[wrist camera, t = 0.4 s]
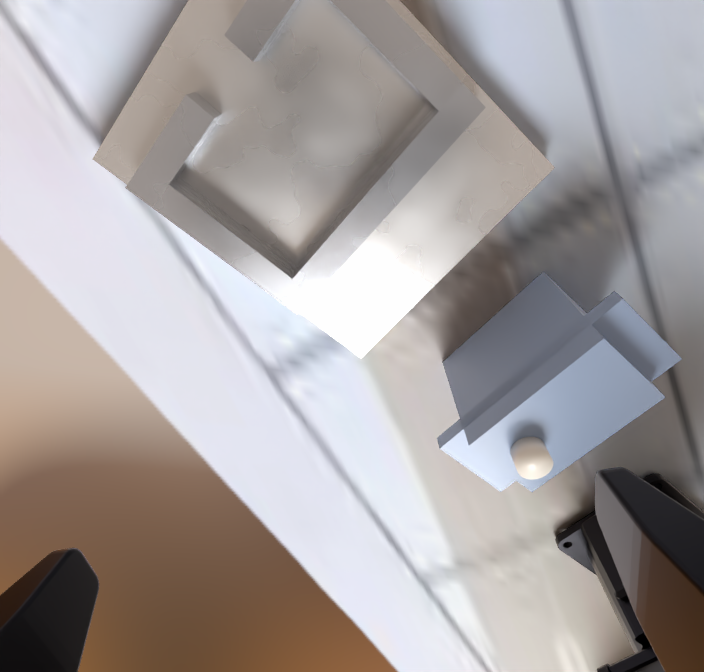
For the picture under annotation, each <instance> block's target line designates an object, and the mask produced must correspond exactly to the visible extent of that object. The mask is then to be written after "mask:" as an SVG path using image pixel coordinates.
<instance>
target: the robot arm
mask: <svg viewBox="0 0 704 672" xmlns="http://www.w3.org/2000/svg"><path fill="white" fill-rule="evenodd" d="M555 540H556V543H557V546H558V548H559V549H560V550H561V551H563V552H564V553H566V554H567V555H568V556H570V557H571V558H573V559H574V560H576V561H577V562H578V563H580V564H581V565H583V566H584V567H586V568H587V569H588V570H590V571H591V572H593V573H594V574H596V575H597V576H598V578H599V581H600V583H601V585H602V587H603V589H604V591H605V593H606V595H607V597H608V599H609V601H610V603H611V605H612V607H613V609H614V612H615V614H616V616H617V618H618V620H619V622H620V624H621V626H622V628H623V630H624V632H625V634H626V636H627V638H628V641H629V643H630V645H631V647H632V649H633V651H634V653H635V654H632V655H630V656H628V657H626V658H624V659H622V660H620V661H618V662H616V663H614V664H611V665H609V664H606V665H604V666H602V667H600V668H598V669H597V672H704V512H703V511H702V510H701V509H700V508H699V507H698V506H696V505H695V504H694V503H693V502H692V501H691V500H690V499H688V498H687V497H686V496H685V495H684V494H683V493H681V492H680V491H679V490H678V489H677V488H676V487H674V486H673V485H672V484H671V483H670V482H669V481H667V480H666V479H665V478H664V477H663V476H662V475H660V474H651V475H649V476H647V477H645V478H644V479H641V478H640V477H638V476H637V475H635V474H634V473H632V472H631V471H629V470H627V469H625V468H622V467H618V468H611V469H604V470H600V471H598V472H597V473H596V476H595V511H594V512H592V513H591V514H589V515H588V516H586V517H585V518H583V519H582V520H580V521H579V522H577V523H576V524H574V525H573V526H571V527H570V528H568V529H567V530H565V531H564V532H562V533H561V534H559V535H558V536H557V537H556V539H555ZM98 590H99V580H98V577H97V575H96V573H95V572H94V570H93V568H92V567H91V565H90V564H89V563H88V561H87V559H86V558H85V556H84V555H83V553H82V552H81V551H80V550H79V549H77V548H69V549H61V550H56V551H53V552H51V553H50V554H49V555H47V556H46V557H45V558H44V559H43V560H41V561H40V562H39V563H38V564H37V565H36V566H34V568H32V569H31V570H30V571H28V572H27V573H26V574H25V575H24V576H23V577H21V578H20V579H19V580H18V581H17V582H15V583H14V584H13V585H12V586H11V587H10V588H8V589H7V590H6V591H5V592H4V593H2V594H1V595H0V672H78V669H79V666H80V662H81V658H82V654H83V650H84V646H85V642H86V638H87V635H88V630H89V627H90V623H91V619H92V615H93V611H94V607H95V603H96V599H97V595H98Z"/></svg>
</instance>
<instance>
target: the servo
mask: <svg viewBox="0 0 704 672" xmlns="http://www.w3.org/2000/svg"><path fill="white" fill-rule="evenodd" d="M680 360H682V358H681V357H680V356H679V355H678V354H677V353H676V352H675V351H674V350H673V349H672V348H671V347H670V346H669V345H668V344H667V343H666V342H665V341H664V340H663V339H662V338H661V337H660V336H659V335H658V334H657V333H656V332H655V331H654V330H653V329H652V328H651V327H650V326H649V325H648V324H647V323H646V322H645V321H644V320H643V319H642V318H641V317H640V316H639V315H638V314H637V312H636V311H635V310H634V309H633V308H632V307H631V306H630V305H629V304H628V303H627V302H626V301H625V300H624V299H623V298H622V297H620V296H619V295H618V294H617V293H616V292H615V291H614V292H612V293H611V294H610V295H609V296H608V297H606V298H605V299H604V300H603V301H602V302H600V303H599V304H598V305H597V306H596V307H594V308H593V309H592V310H591V311H590V312H588V313H586V312H585V311H584V310H583V309H582V308H581V307H580V306H579V305H578V304H577V303H576V302H575V301H574V300H573V299H572V298H570V297H569V296H568V295H567V294H566V293H565V292H564V291H563V290H562V289H561V288H560V287H559V286H558V285H557V284H556V283H555V282H554V281H553V280H552V279H551V278H550V277H549V276H548V275H547V274H546V273H545V272H542V273H541V274H540V275H539V276H538V277H537V278H535V279H534V280H533V281H532V282H531V283H530V284H529V285H528V286H527V287H525V288H524V289H523V290H522V291H521V292H520V293H519V294H518V295H517V296H515V297H514V298H513V299H512V300H511V301H510V302H509V303H508V304H507V305H505V306H504V307H503V308H502V309H501V310H500V311H499V312H498V313H497V314H495V315H494V316H493V317H492V318H491V319H490V320H489V321H488V322H487V323H485V324H484V325H483V326H482V327H481V328H480V329H479V330H478V331H477V332H475V333H474V334H473V335H472V336H471V337H470V338H469V339H468V340H467V341H465V342H464V343H463V344H462V345H461V346H460V347H459V348H458V349H457V350H455V351H454V352H453V353H452V354H451V355H450V356H449V357H448V358H447V359H445V360H444V361H443V365H444V369H445V372H446V375H447V378H448V381H449V384H450V388H451V391H452V394H453V397H454V400H455V403H456V407H457V410H458V413H459V416H460V419H459V420H458V421H457V422H456V423H455V424H453V425H452V426H451V427H450V428H449V429H447V430H446V431H445V432H444V433H443V434H441V435H440V436H439V437H438V438H437V439H438V444H439V448H440V449H441V450H442V451H444V452H445V453H447V454H448V455H449V456H451V457H452V458H454V459H455V460H456V461H458V462H459V463H461V464H462V465H463V466H465V467H466V468H468V469H469V470H470V471H472V472H473V473H475V474H476V475H477V476H479V477H480V478H482V479H483V480H484V481H486V482H487V483H489V484H490V485H491V486H493V487H494V488H496V489H497V490H499V491H500V492H501V491H503V490H504V489H505V488H507V487H508V486H510V485H511V484H512V483H514V482H515V481H517V482H519V483H520V484H521V485H523V486H524V487H526V488H527V489H528V490H530V491H531V492H533V491H534V490H536V489H537V488H539V487H540V486H541V485H543V484H544V483H546V482H547V481H549V480H550V479H551V478H553V477H554V476H556V475H557V474H558V473H560V472H561V471H563V470H564V469H565V468H567V467H568V466H570V465H571V464H572V463H574V462H575V461H577V460H578V459H579V458H581V457H582V456H584V455H585V454H587V453H588V452H589V451H591V450H592V449H594V448H595V447H596V446H598V445H599V444H601V443H602V442H603V441H605V440H606V439H608V438H609V437H610V436H612V435H613V434H615V433H616V432H617V431H619V430H620V429H622V428H623V427H624V426H626V425H627V424H629V423H630V422H632V421H633V420H634V419H636V418H637V417H639V416H640V415H641V414H643V413H644V412H646V411H647V410H648V409H650V408H651V407H653V406H654V405H655V404H657V403H658V402H660V401H661V400H662V399H664V398H665V396H664V395H663V394H662V393H661V392H660V391H659V390H658V388H657V387H656V386H655V385H654V384H653V383H652V381H653V380H654V379H656V378H657V377H659V376H660V375H661V374H663V373H664V372H665V371H667V370H668V369H669V368H671V367H672V366H674V365H675V364H676V363H678V362H679V361H680Z"/></svg>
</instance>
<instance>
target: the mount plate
mask: <svg viewBox="0 0 704 672" xmlns="http://www.w3.org/2000/svg"><path fill="white" fill-rule="evenodd" d="M93 160H95V161H96V162H97V163H99V164H100V165H101V166H103V167H104V168H105V169H107V170H108V171H109V172H111V173H112V174H113V175H115V176H116V177H117V178H119V179H120V180H122V181H123V182H124V183H126V184H127V186H126V189H128V190H129V191H130V192H132V193H133V194H134V195H136V196H137V197H138V198H140V199H141V200H143V201H144V202H145V203H147V204H148V205H149V206H151V207H152V208H153V209H155V210H156V211H157V212H159V213H160V214H162V215H163V216H164V217H166V218H167V219H168V220H170V221H171V222H172V223H174V224H175V225H176V226H178V227H179V228H180V229H182V230H183V231H185V232H186V233H187V234H189V235H190V236H191V237H193V238H194V239H195V240H197V241H198V242H199V243H201V244H202V245H204V246H205V247H206V248H208V249H209V250H210V251H212V252H213V253H214V254H216V255H217V256H218V257H220V258H221V259H222V260H224V261H225V262H227V263H228V264H229V265H231V266H232V267H233V268H235V269H236V270H237V271H239V272H240V273H241V274H243V275H244V276H246V277H247V278H248V279H250V280H251V281H252V282H254V283H255V284H256V285H258V286H259V287H260V288H262V289H263V290H264V291H266V292H267V293H269V294H270V295H271V296H273V297H274V298H275V299H277V300H278V301H279V302H281V303H282V304H283V305H285V306H286V307H288V308H289V309H290V310H292V311H293V312H294V313H296V314H297V315H298V314H299V313H301V314H302V315H304V316H305V317H306V318H308V319H309V320H310V321H312V322H313V323H314V324H316V325H317V326H318V327H320V328H321V329H323V330H324V331H325V332H327V333H328V334H329V335H331V336H332V337H333V338H335V339H336V340H337V341H339V342H340V343H341V344H343V345H344V346H345V347H347V348H348V349H350V350H351V351H352V352H354V353H355V354H356V355H358V356H359V357H360V358H362V357H363V356H364V355H365V354H366V353H367V352H368V351H369V350H370V349H371V348H372V347H373V346H374V345H375V344H376V343H377V342H378V341H379V340H380V339H381V338H382V337H383V336H384V335H385V334H386V333H387V332H388V331H389V330H390V329H391V328H392V327H393V326H394V325H395V324H396V323H397V322H398V321H399V320H400V319H401V318H402V317H403V316H404V315H405V314H406V313H407V312H408V311H409V310H410V309H411V308H412V307H413V306H415V305H416V304H417V303H418V302H419V301H420V300H421V299H422V298H423V297H424V296H425V295H426V294H427V293H428V292H429V291H430V290H431V289H432V288H433V287H434V286H435V285H436V284H437V283H438V282H439V281H440V280H441V279H442V278H443V277H444V276H445V275H446V274H447V273H448V272H449V271H450V270H451V269H452V268H453V267H454V266H455V265H456V264H457V263H458V262H459V261H460V260H461V259H462V258H463V257H464V256H465V255H466V254H467V253H468V252H470V251H471V250H472V249H473V248H474V247H475V246H476V245H477V244H478V243H479V242H480V241H481V240H482V239H483V238H484V237H485V236H486V235H487V234H488V233H489V232H490V231H491V230H492V229H493V228H494V227H495V226H496V225H497V224H498V223H499V222H500V221H501V220H502V219H503V218H504V217H505V216H506V215H507V214H508V213H509V212H510V211H511V210H512V209H513V208H514V207H515V206H516V205H517V204H518V203H519V202H520V201H521V200H522V199H523V198H525V197H526V196H527V195H528V194H529V193H530V192H531V191H532V190H533V189H534V188H535V187H536V186H537V185H538V184H539V183H540V182H541V181H542V180H543V179H544V178H545V177H546V176H547V175H548V174H549V173H550V172H551V171H552V170H553V169H554V168H555V167H554V166H553V165H552V164H551V163H550V162H549V161H548V160H547V159H546V158H545V156H544V155H543V154H542V153H541V152H540V151H539V150H538V149H537V148H536V147H535V146H534V145H533V144H532V142H531V141H530V140H529V139H528V138H527V137H526V136H525V135H524V134H523V133H522V132H521V131H520V129H519V128H518V127H517V126H516V125H515V124H514V123H513V122H512V121H511V120H510V119H509V118H508V117H507V115H506V114H505V113H504V112H503V111H502V110H501V109H500V108H499V107H498V106H497V105H496V104H495V103H494V101H493V100H492V99H491V98H490V97H489V96H488V95H487V94H486V93H485V92H484V91H483V90H482V88H481V87H480V86H479V85H478V84H477V83H476V82H475V81H474V80H473V79H472V78H471V77H470V76H469V74H468V73H467V72H466V71H465V70H464V69H463V68H462V67H461V66H460V65H459V64H458V63H457V62H456V60H455V59H454V58H453V57H452V56H451V55H450V54H449V53H448V52H447V51H446V50H445V49H444V47H443V46H442V45H441V44H440V43H439V42H438V41H437V40H436V39H435V38H434V37H433V36H432V35H431V33H430V32H429V31H428V30H427V29H426V28H425V27H424V26H423V25H422V24H421V23H420V22H419V21H418V19H417V18H416V17H415V16H414V15H413V14H412V13H411V12H410V11H409V10H408V9H407V8H406V6H405V5H404V4H403V3H402V2H401V1H400V0H188V2H187V3H186V5H185V7H184V8H183V10H182V12H181V13H180V15H179V17H178V18H177V20H176V22H175V23H174V25H173V26H172V28H171V30H170V31H169V33H168V35H167V36H166V38H165V40H164V41H163V43H162V45H161V46H160V48H159V50H158V51H157V53H156V55H155V56H154V58H153V60H152V61H151V63H150V65H149V66H148V68H147V70H146V71H145V73H144V75H143V76H142V78H141V80H140V81H139V83H138V85H137V86H136V88H135V90H134V91H133V93H132V95H131V96H130V98H129V99H128V101H127V103H126V104H125V106H124V108H123V109H122V111H121V113H120V114H119V116H118V118H117V119H116V121H115V123H114V124H113V126H112V128H111V129H110V131H109V133H108V134H107V136H106V138H105V139H104V141H103V143H102V144H101V146H100V148H99V149H98V151H97V153H96V154H95V156H94V158H93Z"/></svg>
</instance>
